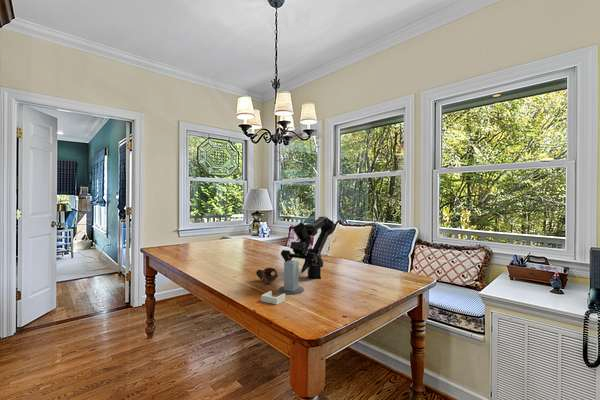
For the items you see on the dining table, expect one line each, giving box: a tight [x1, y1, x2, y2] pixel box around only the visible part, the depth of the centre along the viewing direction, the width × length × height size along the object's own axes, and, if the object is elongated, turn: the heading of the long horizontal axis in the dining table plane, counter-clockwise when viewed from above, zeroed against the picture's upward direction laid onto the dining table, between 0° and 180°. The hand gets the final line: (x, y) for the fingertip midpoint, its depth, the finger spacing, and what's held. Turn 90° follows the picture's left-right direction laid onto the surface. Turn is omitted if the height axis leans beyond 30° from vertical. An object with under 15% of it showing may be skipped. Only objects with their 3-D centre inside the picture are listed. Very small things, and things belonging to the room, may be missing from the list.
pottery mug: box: [255, 267, 279, 285], centre depth 151 cm, size 12×10×8 cm
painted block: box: [283, 259, 299, 291], centre depth 137 cm, size 5×5×13 cm
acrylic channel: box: [260, 290, 286, 305], centre depth 123 cm, size 7×8×2 cm
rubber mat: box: [278, 285, 305, 295], centre depth 137 cm, size 12×12×1 cm
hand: (293, 271), depth 138 cm, fingers open, 9 cm apart
